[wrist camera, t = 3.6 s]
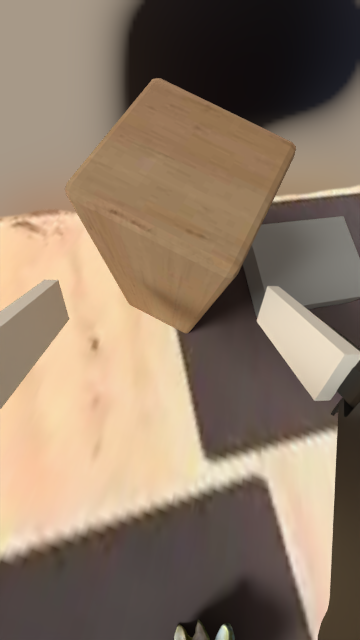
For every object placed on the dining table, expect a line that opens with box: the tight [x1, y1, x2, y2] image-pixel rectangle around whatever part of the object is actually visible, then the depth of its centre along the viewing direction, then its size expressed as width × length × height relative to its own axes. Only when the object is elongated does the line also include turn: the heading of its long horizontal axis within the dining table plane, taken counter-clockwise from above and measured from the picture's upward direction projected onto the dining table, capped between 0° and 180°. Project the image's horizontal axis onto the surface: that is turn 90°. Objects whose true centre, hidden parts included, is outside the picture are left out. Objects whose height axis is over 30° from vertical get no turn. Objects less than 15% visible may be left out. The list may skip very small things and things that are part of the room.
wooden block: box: [65, 78, 296, 333], centre depth 21 cm, size 10×10×20 cm
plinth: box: [243, 216, 360, 317], centre depth 31 cm, size 16×13×4 cm
